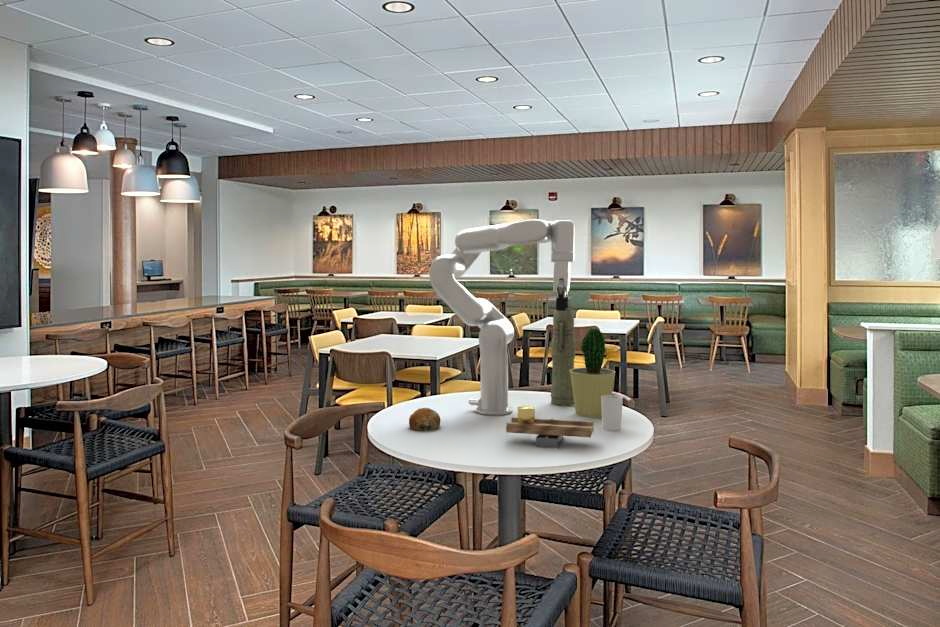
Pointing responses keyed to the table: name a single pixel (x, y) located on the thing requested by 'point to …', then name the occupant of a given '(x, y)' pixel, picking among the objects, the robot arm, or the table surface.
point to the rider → (526, 415)
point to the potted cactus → (591, 376)
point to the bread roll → (424, 420)
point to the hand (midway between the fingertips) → (562, 309)
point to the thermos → (562, 357)
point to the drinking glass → (611, 412)
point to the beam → (552, 427)
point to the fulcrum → (548, 441)
